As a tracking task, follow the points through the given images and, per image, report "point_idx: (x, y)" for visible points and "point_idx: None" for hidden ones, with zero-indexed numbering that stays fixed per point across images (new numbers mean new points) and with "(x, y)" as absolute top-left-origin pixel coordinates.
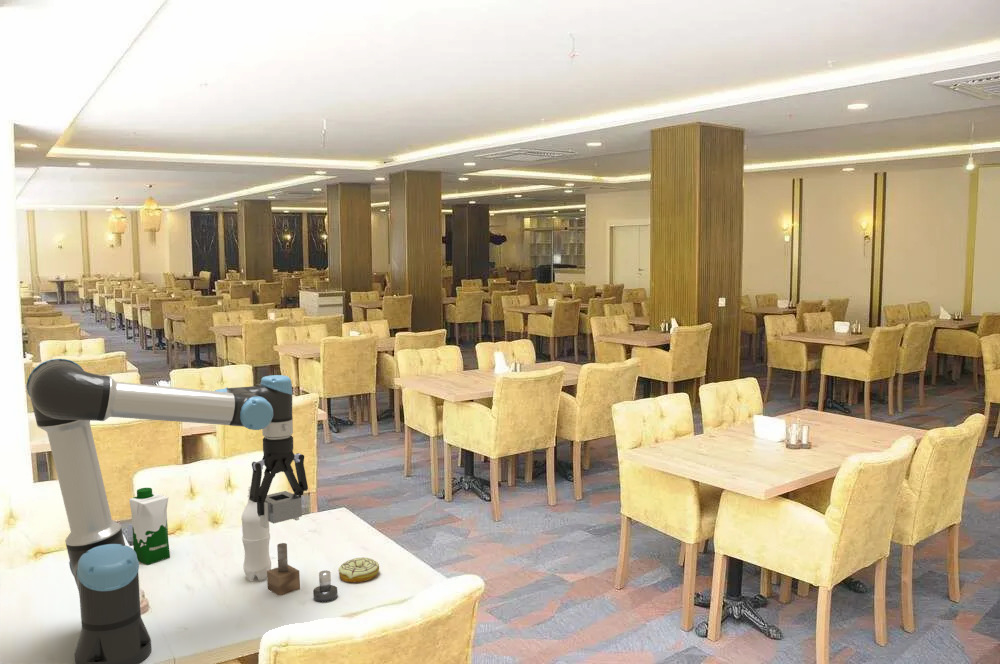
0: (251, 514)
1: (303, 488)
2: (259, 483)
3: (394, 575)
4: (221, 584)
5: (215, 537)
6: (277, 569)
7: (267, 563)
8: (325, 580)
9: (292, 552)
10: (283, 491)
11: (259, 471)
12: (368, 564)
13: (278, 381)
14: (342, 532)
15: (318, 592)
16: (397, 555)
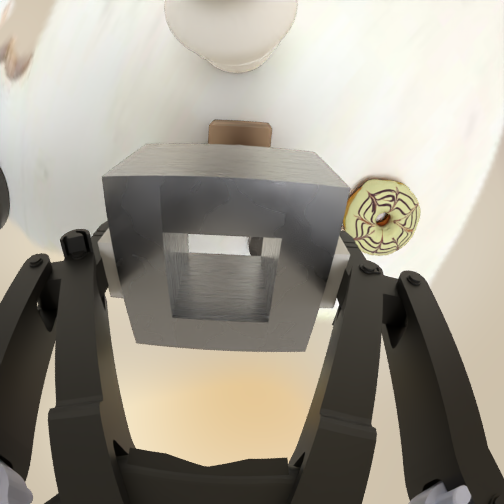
0: (180, 30)
1: (382, 324)
2: (35, 392)
3: (403, 256)
4: (158, 25)
5: None
6: (233, 137)
7: (248, 69)
8: None
9: (380, 2)
10: (331, 189)
11: (12, 468)
12: (392, 241)
13: None
14: (491, 38)
15: (256, 247)
16: (467, 200)
